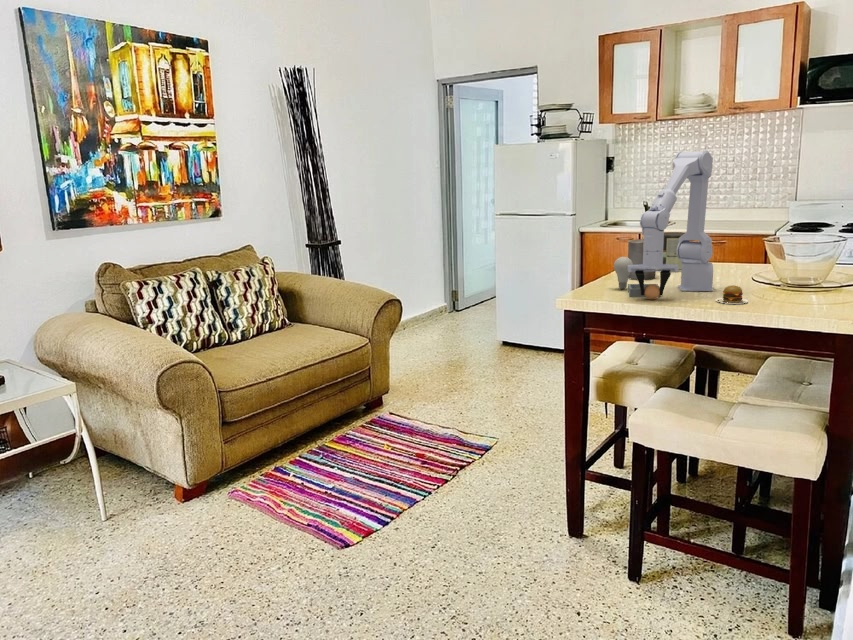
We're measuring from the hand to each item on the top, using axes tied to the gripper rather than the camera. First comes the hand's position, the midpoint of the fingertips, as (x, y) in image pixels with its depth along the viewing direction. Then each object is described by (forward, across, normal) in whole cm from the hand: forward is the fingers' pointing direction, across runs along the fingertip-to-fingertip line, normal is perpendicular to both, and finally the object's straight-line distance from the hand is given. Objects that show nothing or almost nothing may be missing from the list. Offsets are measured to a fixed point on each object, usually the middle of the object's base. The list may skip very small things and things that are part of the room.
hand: (651, 294), depth 203 cm
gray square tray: (+1, -2, +8) cm, 9 cm away
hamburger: (+2, +22, -3) cm, 23 cm away
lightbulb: (+2, -7, +17) cm, 19 cm away
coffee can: (+2, +14, +58) cm, 60 cm away
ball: (+1, 0, 0) cm, 1 cm away
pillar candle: (+2, 0, +40) cm, 40 cm away
